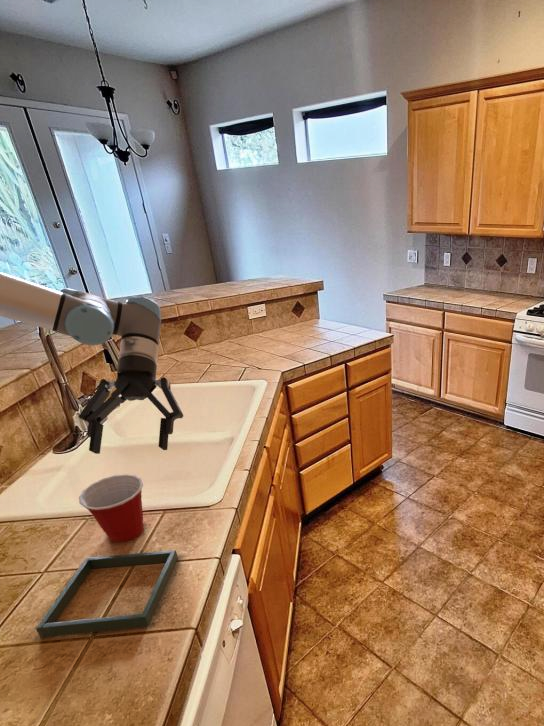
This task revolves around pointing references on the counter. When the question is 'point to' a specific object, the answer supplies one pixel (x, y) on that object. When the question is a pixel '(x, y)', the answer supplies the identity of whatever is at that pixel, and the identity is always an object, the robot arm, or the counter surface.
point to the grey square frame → (52, 628)
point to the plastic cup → (116, 505)
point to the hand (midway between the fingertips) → (129, 450)
